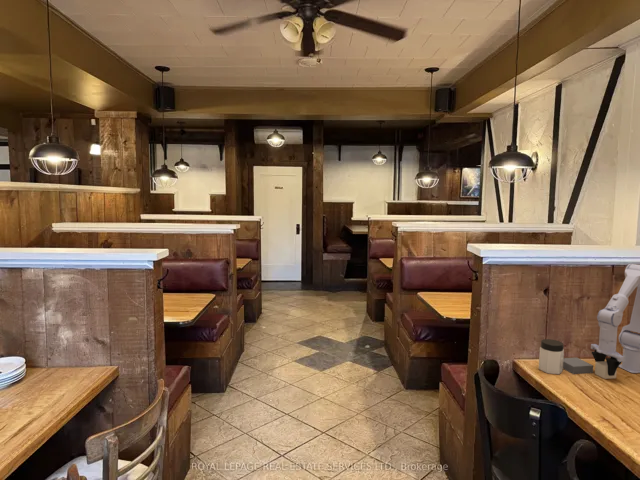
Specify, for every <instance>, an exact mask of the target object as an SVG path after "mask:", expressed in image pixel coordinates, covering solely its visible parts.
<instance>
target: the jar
mask: <svg viewBox="0 0 640 480" xmlns="http://www.w3.org/2000/svg"><path fill="white" fill-rule="evenodd" d="M564 352H565V349H564V342H562V341H559V340H556V339H549V338H547V339H546V338H545V339H541V340H540V347H539V354H538V355H539V356H538V357H539V358H538V369H539V371H542V372H543V373H546V374H552V375H560V374H561V373H562V372H563V371H564V369H563V358H565V357H564V356H565V353H564Z"/></svg>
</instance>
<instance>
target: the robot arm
mask: <svg viewBox="0 0 640 480" xmlns="http://www.w3.org/2000/svg"><path fill="white" fill-rule="evenodd" d="M624 278H625V279H624V280H623V282H622V285H620V289H619V291H618V293H616V294H613V295H612V297H611V298H610V300H609V301H608V302H607V304H606V306H605V307H604V308H603V309H600V310H599V311H598V313H597V315H596V319H597V323H598V327H599V335H598V337H599V338H598V344H597V343H591V344H590V349H591V350H594V351H591V354H592V356H593V359H594V361H595V363H596V362H601V361H607V365H608V375H609V376H614V374H615V372H616V370H617V371H618V368H621V369H623V370H625V371H627V372H629V373H631V374H640V264H635V263H629V264H627V265H626V267H625V270H624ZM636 288H637V289H636ZM635 290H636V294H635V299H634V301H633V302H634V303H633V307H632V312H631V315H630V316H631V317H630V321H629V323H628V324H626V325H623V326H622V327H621V331H620V333H619V335H618V327H619V325H621V324H622V320H623V316H624V311H625V309H626V308H627V307H628V305H629V303H630V302H629V297H630V296H631V295H632V294H633V292H634V291H635ZM617 339H618V341H619V344H620V345H621V347H623V350H622V354H621V353H619V352H618V351H617ZM616 373H617V372H616Z"/></svg>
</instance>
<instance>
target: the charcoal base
mask: <svg viewBox="0 0 640 480" xmlns="http://www.w3.org/2000/svg"><path fill="white" fill-rule="evenodd" d="M563 370H565V371H566V372H569V373H570V374H572V375H578V374H579V375H580V374H583V375H584V374H593V373H594V365H593V364H591V363H590V362H587V361H585V360H584V359H581V358H578V357H576V356H575V357H564V358H563Z"/></svg>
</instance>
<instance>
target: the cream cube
mask: <svg viewBox="0 0 640 480" xmlns="http://www.w3.org/2000/svg"><path fill="white" fill-rule="evenodd" d="M594 367H595V368H594V374H595V375H597V376H598V377H600V378H602V379H605V380H608V379H611V380H612V379H617V371H618V369H617V370H616V372H615V374H614V376H609V375H608V365H607V361H606V360H605V361H601V362H595V366H594Z"/></svg>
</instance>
